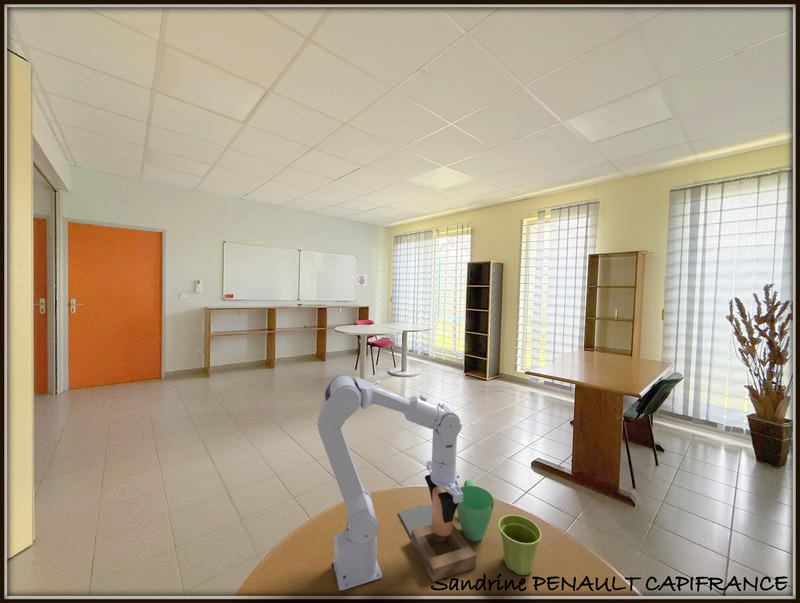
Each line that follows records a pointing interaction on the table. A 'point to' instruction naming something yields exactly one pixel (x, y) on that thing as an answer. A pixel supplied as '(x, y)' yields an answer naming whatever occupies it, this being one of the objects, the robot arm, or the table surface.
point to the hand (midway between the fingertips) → (442, 513)
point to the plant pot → (519, 542)
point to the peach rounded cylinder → (439, 515)
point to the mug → (474, 510)
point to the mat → (416, 517)
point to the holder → (447, 562)
